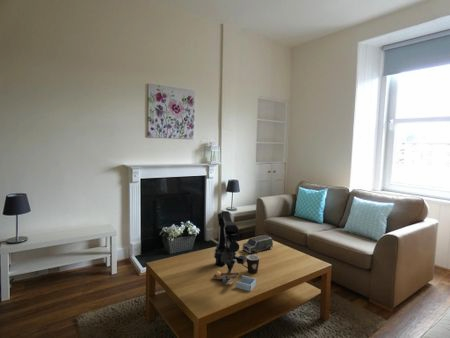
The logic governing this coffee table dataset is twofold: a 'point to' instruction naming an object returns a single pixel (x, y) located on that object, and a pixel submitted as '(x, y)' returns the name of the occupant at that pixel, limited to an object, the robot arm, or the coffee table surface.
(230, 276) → the lever
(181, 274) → the coffee table surface
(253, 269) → the coffee mug
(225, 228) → the robot arm
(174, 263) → the coffee table surface
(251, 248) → the toy van
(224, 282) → the pivot stand
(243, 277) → the dish
